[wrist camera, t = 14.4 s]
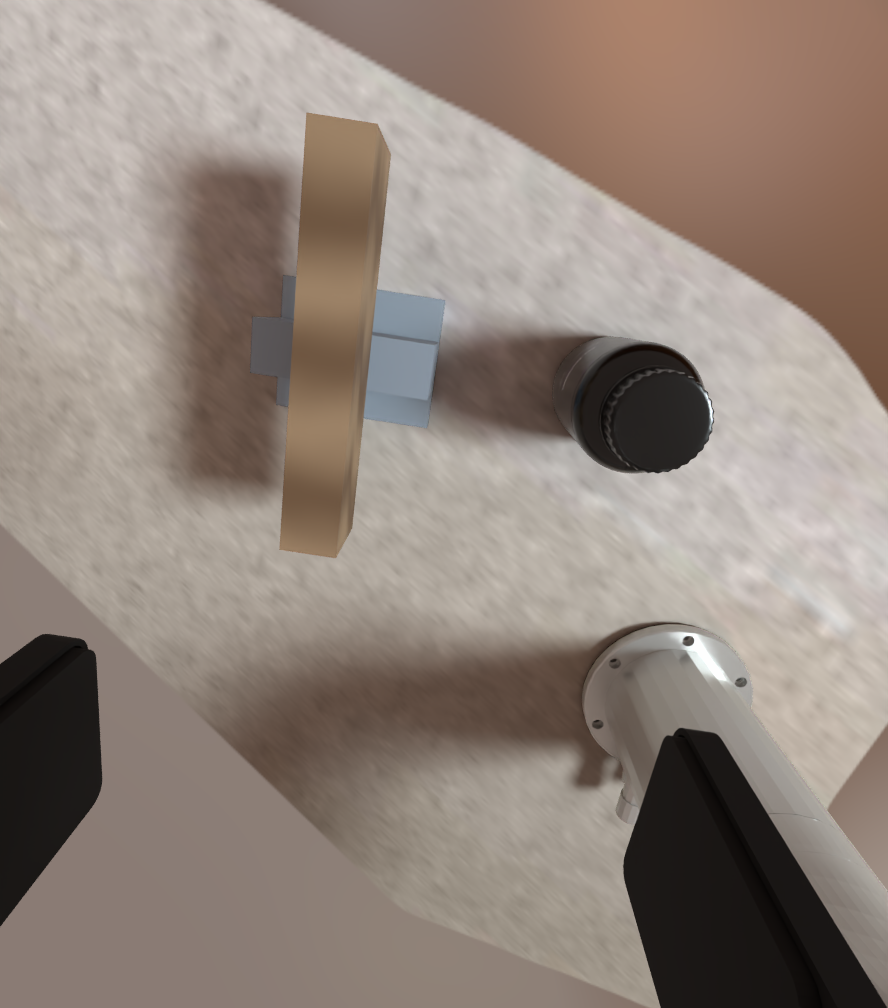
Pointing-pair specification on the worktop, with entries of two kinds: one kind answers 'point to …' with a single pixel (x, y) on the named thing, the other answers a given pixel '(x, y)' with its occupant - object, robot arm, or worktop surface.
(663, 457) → the supplement bottle
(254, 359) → the fulcrum
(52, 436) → the worktop surface
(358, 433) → the walnut bar
